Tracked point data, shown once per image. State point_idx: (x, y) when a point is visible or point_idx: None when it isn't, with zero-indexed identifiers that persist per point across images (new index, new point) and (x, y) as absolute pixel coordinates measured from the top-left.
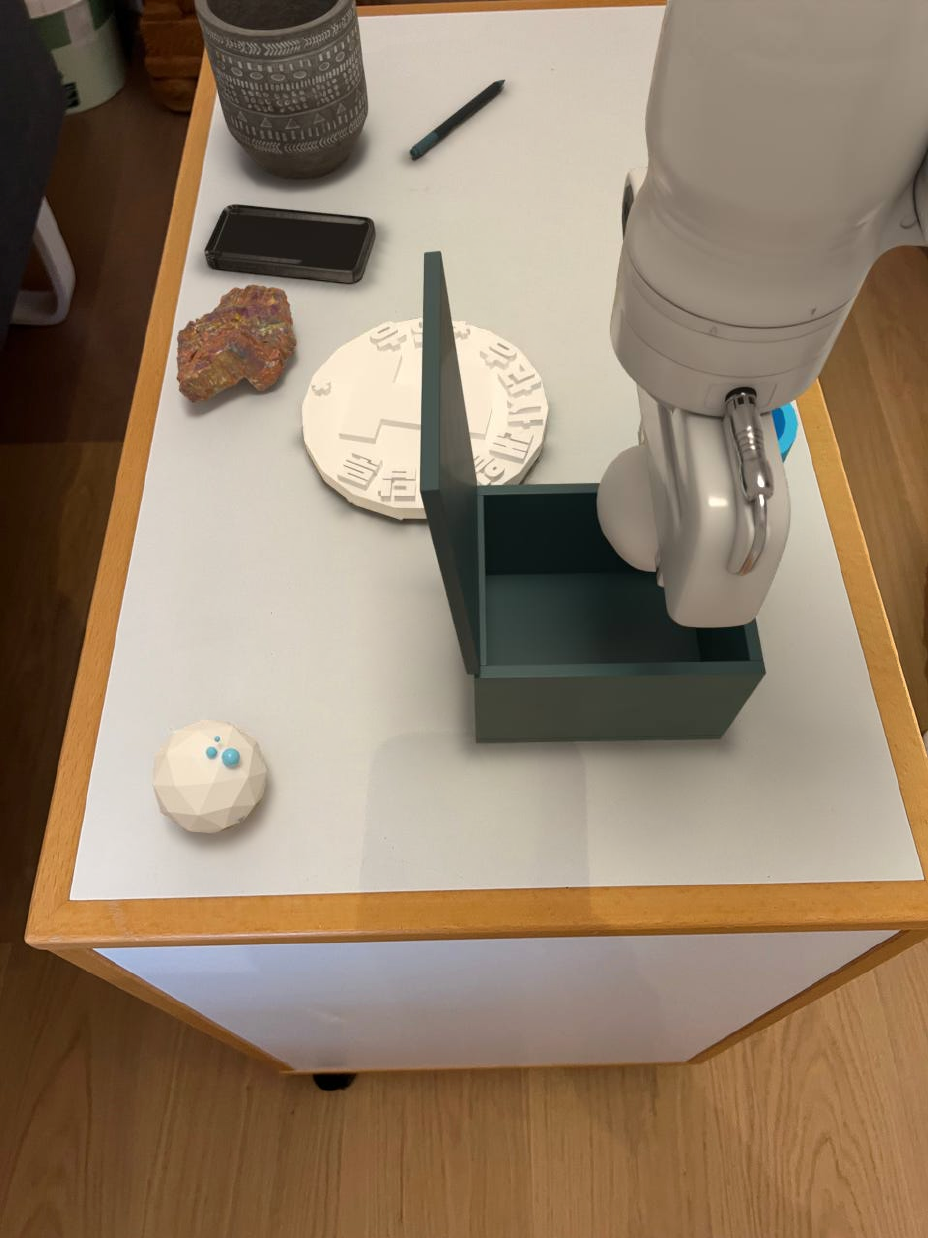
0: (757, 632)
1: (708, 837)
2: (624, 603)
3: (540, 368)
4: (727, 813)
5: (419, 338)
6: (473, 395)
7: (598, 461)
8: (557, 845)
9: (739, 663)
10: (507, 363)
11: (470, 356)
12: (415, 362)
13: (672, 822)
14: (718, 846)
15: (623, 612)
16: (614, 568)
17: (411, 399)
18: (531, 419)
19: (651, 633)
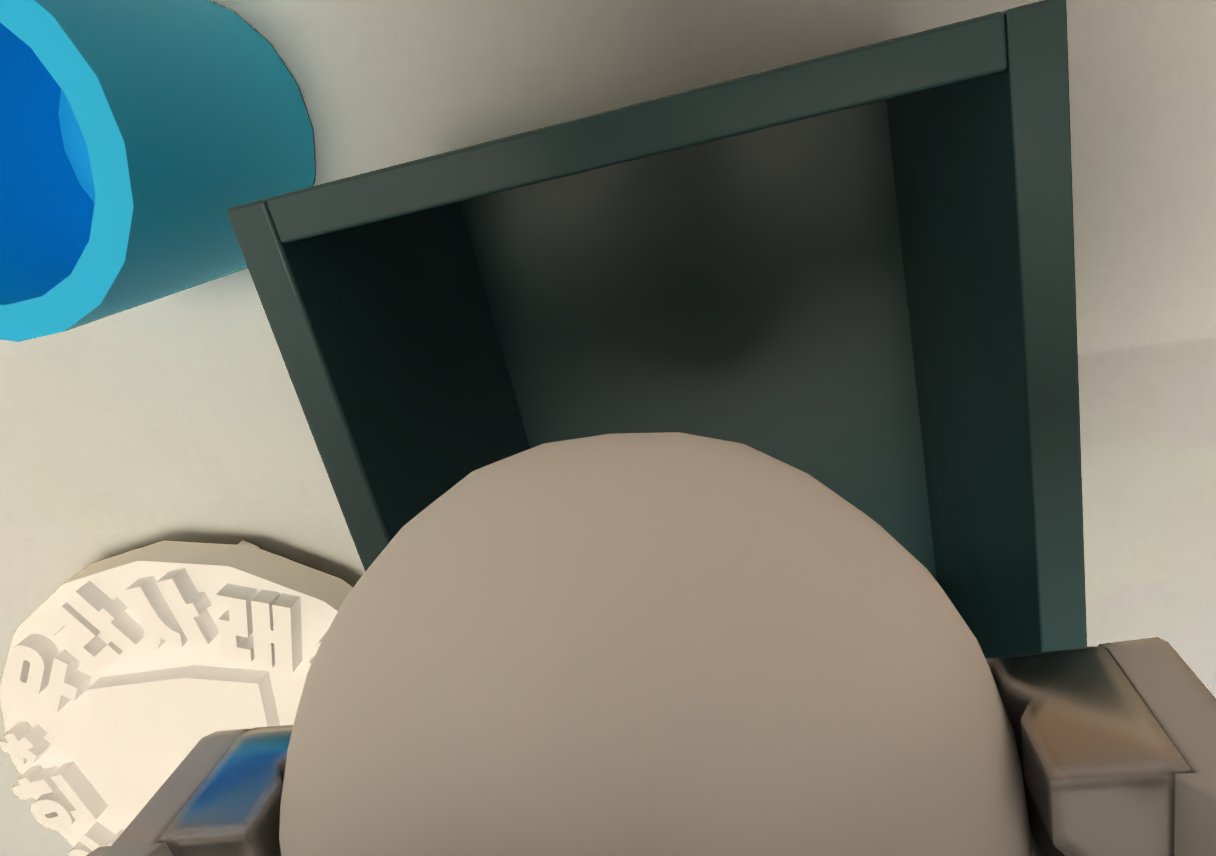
0: (876, 49)
1: (1183, 51)
2: (581, 331)
3: (38, 555)
4: (1116, 5)
5: (83, 813)
6: (172, 712)
7: (219, 416)
8: (1193, 402)
9: (1024, 113)
10: (62, 656)
11: (79, 715)
12: (140, 802)
13: (1140, 149)
14: (1210, 21)
15: (605, 330)
16: (501, 370)
17: None
18: (183, 601)
19: (649, 260)
